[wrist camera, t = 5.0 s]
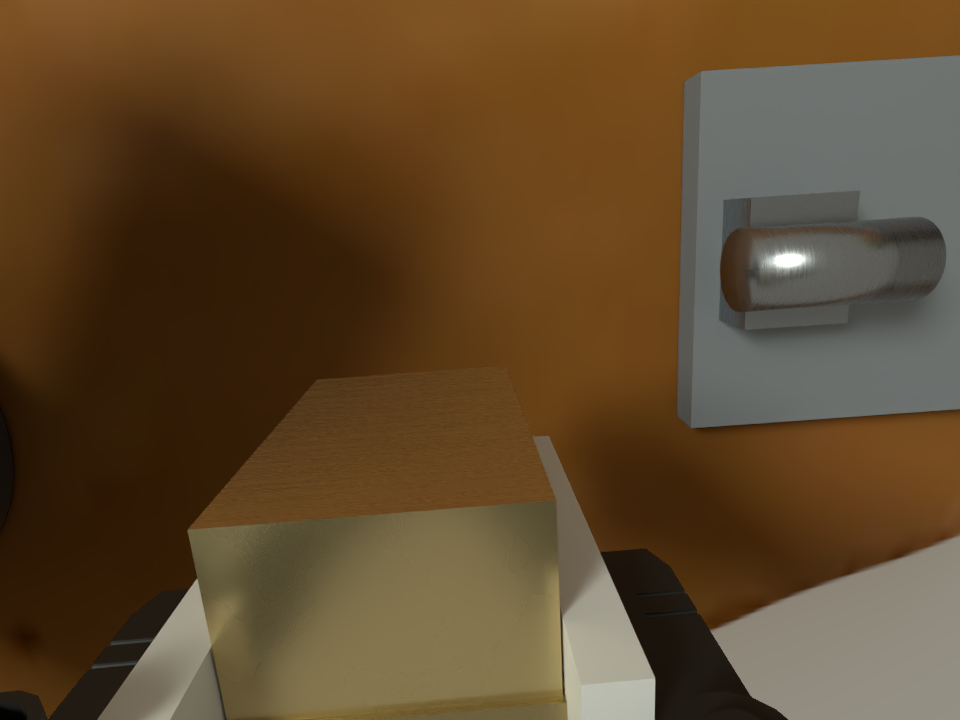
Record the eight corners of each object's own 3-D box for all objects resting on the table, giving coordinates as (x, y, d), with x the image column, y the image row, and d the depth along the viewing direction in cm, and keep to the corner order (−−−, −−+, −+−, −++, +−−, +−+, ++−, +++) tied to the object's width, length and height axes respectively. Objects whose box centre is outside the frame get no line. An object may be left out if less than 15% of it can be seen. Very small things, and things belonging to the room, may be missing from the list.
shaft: (693, 321, 21) (755, 348, 17) (697, 201, 20) (764, 195, 16) (837, 311, 21) (936, 335, 17) (848, 191, 20) (956, 183, 16)
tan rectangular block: (521, 608, 13) (574, 910, 8) (348, 623, 13) (265, 944, 7) (508, 365, 12) (562, 504, 6) (314, 379, 12) (178, 534, 6)
